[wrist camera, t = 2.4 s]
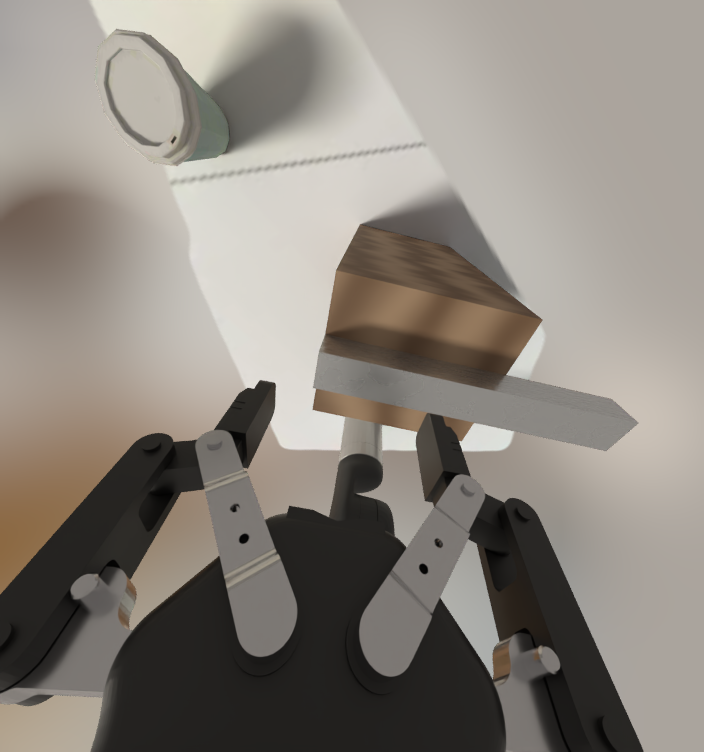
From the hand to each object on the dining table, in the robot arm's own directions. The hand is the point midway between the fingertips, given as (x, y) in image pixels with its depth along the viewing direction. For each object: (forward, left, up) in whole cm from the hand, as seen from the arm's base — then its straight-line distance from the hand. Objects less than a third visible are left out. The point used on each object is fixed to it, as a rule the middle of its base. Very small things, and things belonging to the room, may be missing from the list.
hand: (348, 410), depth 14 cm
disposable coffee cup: (+24, +18, -42) cm, 51 cm away
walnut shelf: (-5, -3, -42) cm, 42 cm away
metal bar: (-7, -8, -10) cm, 14 cm away
